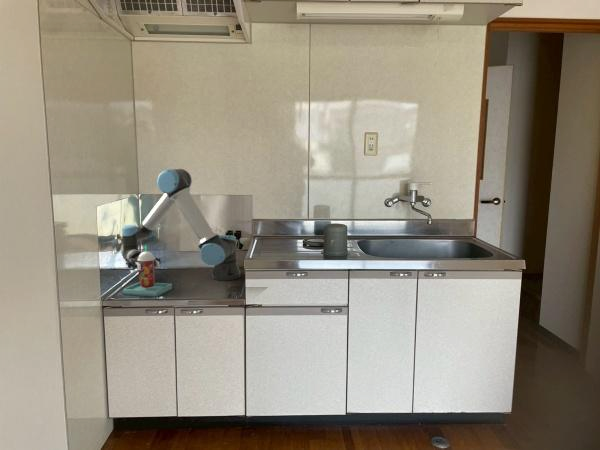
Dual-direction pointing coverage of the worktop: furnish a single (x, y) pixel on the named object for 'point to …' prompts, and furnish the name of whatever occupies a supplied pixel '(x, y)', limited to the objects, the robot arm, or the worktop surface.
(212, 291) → the worktop surface
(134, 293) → the tray
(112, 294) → the worktop surface
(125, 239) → the robot arm
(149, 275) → the smoothie
